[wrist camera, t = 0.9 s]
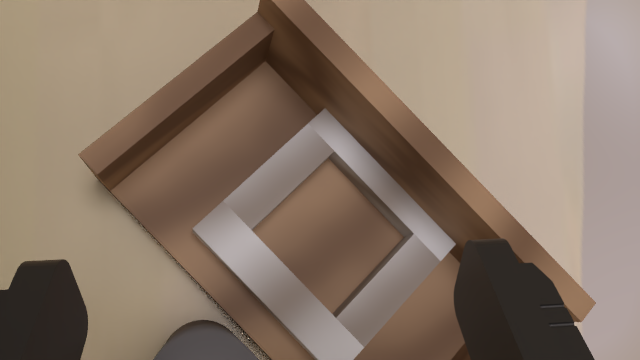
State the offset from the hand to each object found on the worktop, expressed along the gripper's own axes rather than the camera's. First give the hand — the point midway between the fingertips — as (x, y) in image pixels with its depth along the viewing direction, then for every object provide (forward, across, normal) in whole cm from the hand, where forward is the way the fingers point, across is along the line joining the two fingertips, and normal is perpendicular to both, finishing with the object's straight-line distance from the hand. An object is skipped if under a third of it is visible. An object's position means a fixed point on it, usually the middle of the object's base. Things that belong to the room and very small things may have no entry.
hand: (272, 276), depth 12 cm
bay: (+14, -2, +13) cm, 19 cm away
